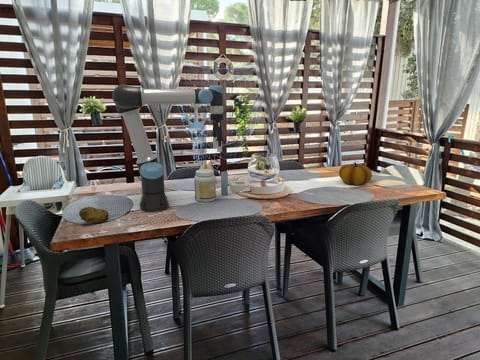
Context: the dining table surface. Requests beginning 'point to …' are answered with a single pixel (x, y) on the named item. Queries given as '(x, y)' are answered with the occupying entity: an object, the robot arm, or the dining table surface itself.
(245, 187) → the socket block
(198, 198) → the supplement tub
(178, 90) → the robot arm
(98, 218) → the potato
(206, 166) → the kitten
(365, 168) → the decorative pumpkin
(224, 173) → the peg
